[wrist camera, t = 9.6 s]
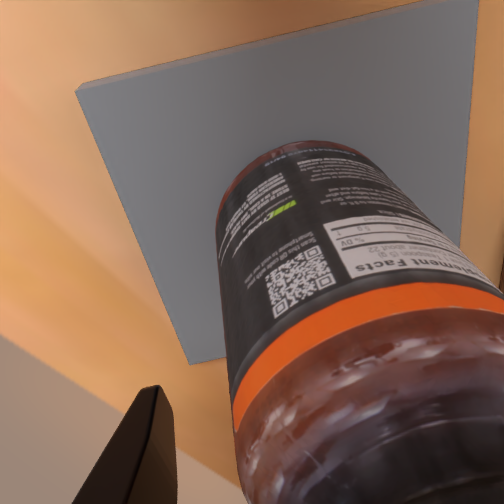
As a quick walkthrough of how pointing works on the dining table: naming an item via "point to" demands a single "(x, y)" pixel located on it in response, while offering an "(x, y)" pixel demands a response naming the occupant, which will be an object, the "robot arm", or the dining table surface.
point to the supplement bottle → (355, 339)
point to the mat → (282, 133)
